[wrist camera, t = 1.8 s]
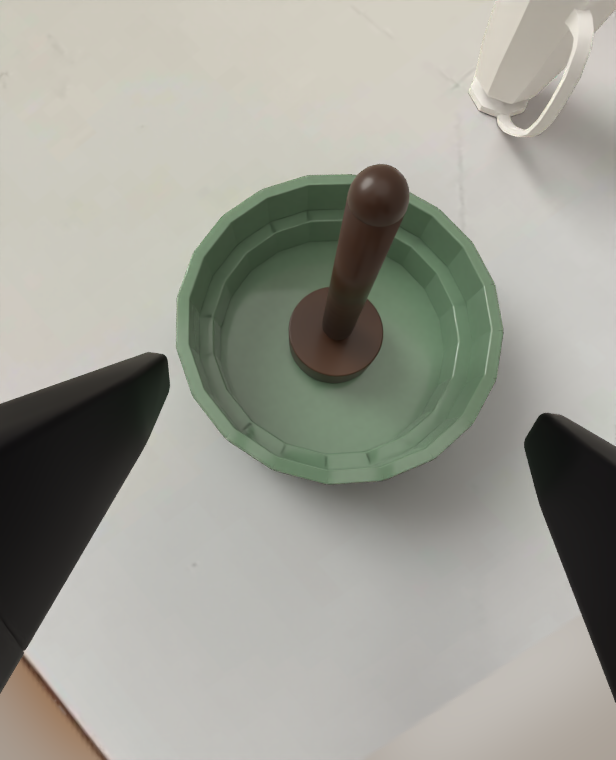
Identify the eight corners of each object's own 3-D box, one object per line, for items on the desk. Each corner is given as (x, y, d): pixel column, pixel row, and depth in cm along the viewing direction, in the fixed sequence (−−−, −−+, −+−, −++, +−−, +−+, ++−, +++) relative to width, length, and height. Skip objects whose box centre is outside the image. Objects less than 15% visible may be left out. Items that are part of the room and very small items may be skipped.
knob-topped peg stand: (390, 365, 21) (525, 231, 9) (308, 396, 20) (328, 301, 8) (355, 288, 22) (433, 70, 10) (276, 316, 21) (251, 123, 9)
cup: (541, 56, 27) (644, -113, 19) (560, 174, 25) (685, 39, 17) (446, 52, 26) (510, -121, 19) (456, 170, 24) (534, 32, 16)
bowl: (505, 417, 21) (561, 406, 16) (252, 522, 19) (240, 541, 15) (395, 198, 24) (418, 139, 19) (167, 274, 22) (135, 227, 18)
